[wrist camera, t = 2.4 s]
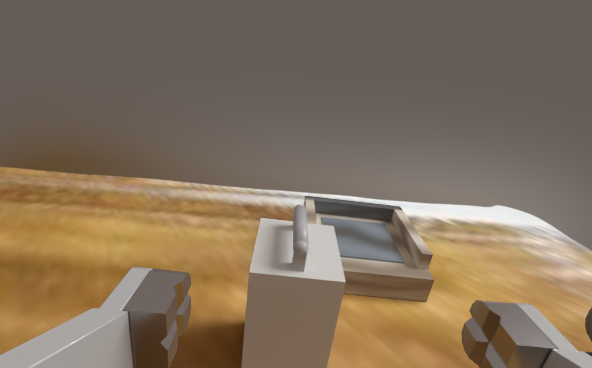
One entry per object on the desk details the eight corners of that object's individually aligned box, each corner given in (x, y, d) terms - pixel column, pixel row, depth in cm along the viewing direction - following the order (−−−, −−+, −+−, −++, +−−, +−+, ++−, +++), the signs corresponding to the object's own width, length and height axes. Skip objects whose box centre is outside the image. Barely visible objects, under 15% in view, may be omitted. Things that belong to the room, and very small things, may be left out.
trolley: (321, 401, 24) (355, 256, 19) (236, 394, 23) (247, 245, 19) (316, 325, 30) (340, 204, 26) (249, 319, 30) (260, 194, 25)
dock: (426, 301, 36) (439, 264, 34) (302, 289, 35) (308, 250, 33) (391, 235, 48) (399, 206, 47) (300, 225, 48) (305, 195, 46)
